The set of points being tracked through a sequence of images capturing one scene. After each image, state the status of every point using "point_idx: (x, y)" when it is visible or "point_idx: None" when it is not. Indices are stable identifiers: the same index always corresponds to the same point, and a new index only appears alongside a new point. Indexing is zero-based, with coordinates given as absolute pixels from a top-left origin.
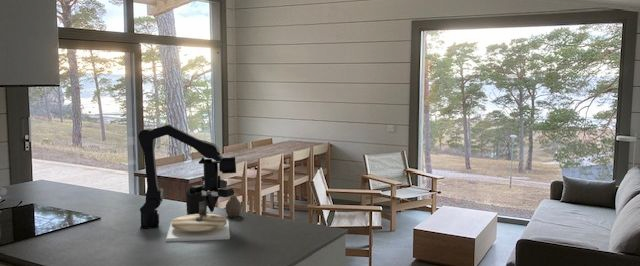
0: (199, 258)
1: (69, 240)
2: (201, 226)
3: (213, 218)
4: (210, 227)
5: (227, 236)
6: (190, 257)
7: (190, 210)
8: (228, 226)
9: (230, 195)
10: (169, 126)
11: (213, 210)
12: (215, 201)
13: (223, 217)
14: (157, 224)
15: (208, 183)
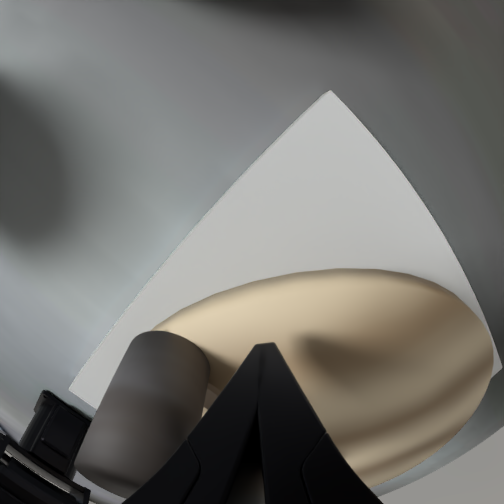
0: (450, 459)
1: (112, 496)
2: (396, 469)
3: (380, 389)
4: (439, 446)
5: (494, 373)
6: (429, 469)
7: None
8: (460, 272)
9: None
10: None
11: (277, 347)
12: (342, 487)
13: (451, 315)
14: (83, 426)
15: None
